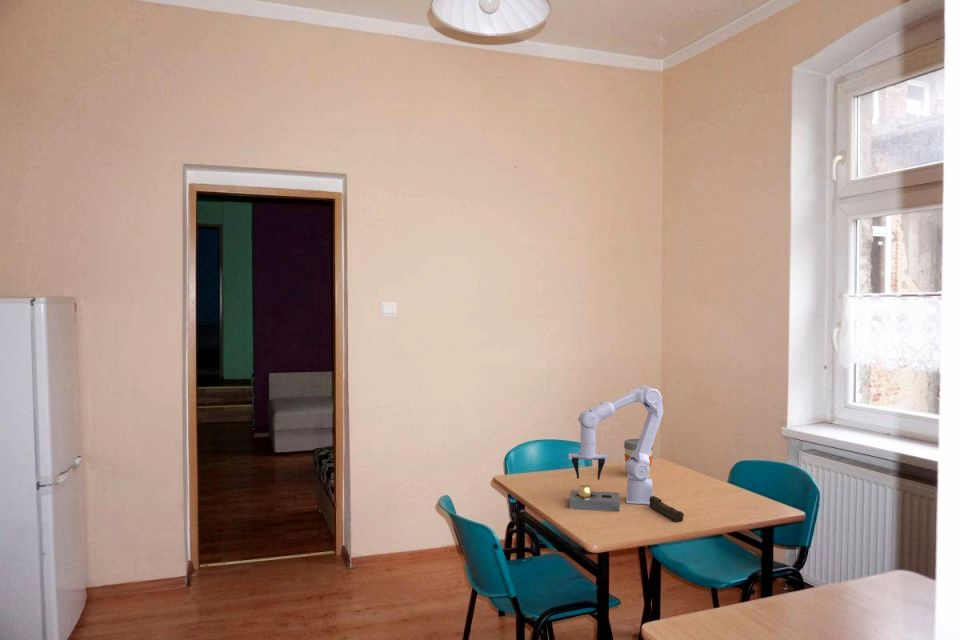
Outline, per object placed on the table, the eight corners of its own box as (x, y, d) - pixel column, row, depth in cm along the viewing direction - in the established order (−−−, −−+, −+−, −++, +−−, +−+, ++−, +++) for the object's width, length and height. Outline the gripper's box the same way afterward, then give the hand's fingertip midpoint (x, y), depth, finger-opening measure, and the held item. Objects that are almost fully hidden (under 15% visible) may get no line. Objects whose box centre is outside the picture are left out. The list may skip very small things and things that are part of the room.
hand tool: (684, 522, 222) (684, 509, 222) (673, 523, 221) (674, 510, 221) (656, 506, 240) (656, 494, 240) (647, 507, 239) (647, 494, 239)
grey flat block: (618, 501, 245) (618, 492, 245) (619, 511, 233) (619, 501, 233) (570, 499, 248) (570, 490, 248) (569, 508, 236) (569, 499, 236)
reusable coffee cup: (647, 471, 290) (647, 438, 290) (657, 478, 278) (657, 444, 277) (620, 472, 289) (620, 438, 289) (628, 479, 277) (628, 444, 276)
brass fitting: (590, 503, 243) (590, 484, 243) (591, 506, 239) (591, 488, 238) (578, 502, 244) (578, 484, 243) (579, 506, 239) (579, 487, 239)
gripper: (568, 444, 240) (568, 480, 240) (607, 445, 238) (608, 482, 238) (569, 440, 247) (569, 475, 247) (607, 441, 245) (607, 477, 245)
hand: (588, 478), depth 243 cm, fingers open, 7 cm apart
